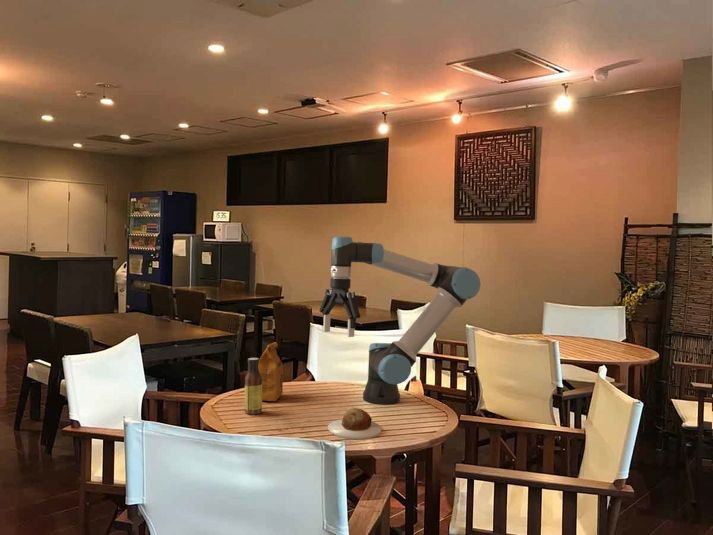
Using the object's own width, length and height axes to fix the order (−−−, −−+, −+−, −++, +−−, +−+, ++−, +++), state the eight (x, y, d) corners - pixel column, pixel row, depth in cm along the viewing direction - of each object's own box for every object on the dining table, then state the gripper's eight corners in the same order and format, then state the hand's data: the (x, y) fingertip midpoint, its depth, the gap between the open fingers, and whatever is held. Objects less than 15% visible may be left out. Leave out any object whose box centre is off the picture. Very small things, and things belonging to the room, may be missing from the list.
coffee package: (286, 396, 243) (288, 342, 242) (276, 404, 231) (278, 347, 230) (263, 393, 245) (264, 340, 244) (252, 401, 233) (253, 345, 232)
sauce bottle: (265, 412, 220) (267, 358, 219) (255, 416, 214) (257, 361, 213) (250, 409, 222) (252, 356, 222) (240, 413, 217) (242, 358, 216)
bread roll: (345, 431, 208) (336, 411, 207) (372, 419, 208) (363, 399, 208) (347, 441, 198) (337, 419, 197) (375, 428, 199) (366, 407, 198)
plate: (355, 419, 215) (355, 415, 215) (392, 432, 202) (392, 428, 202) (317, 428, 203) (317, 425, 203) (353, 443, 190) (353, 439, 190)
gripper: (311, 275, 230) (309, 330, 231) (356, 280, 212) (354, 339, 213) (326, 275, 235) (324, 328, 236) (371, 280, 217) (369, 338, 218)
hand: (338, 334), depth 225 cm, fingers open, 13 cm apart
